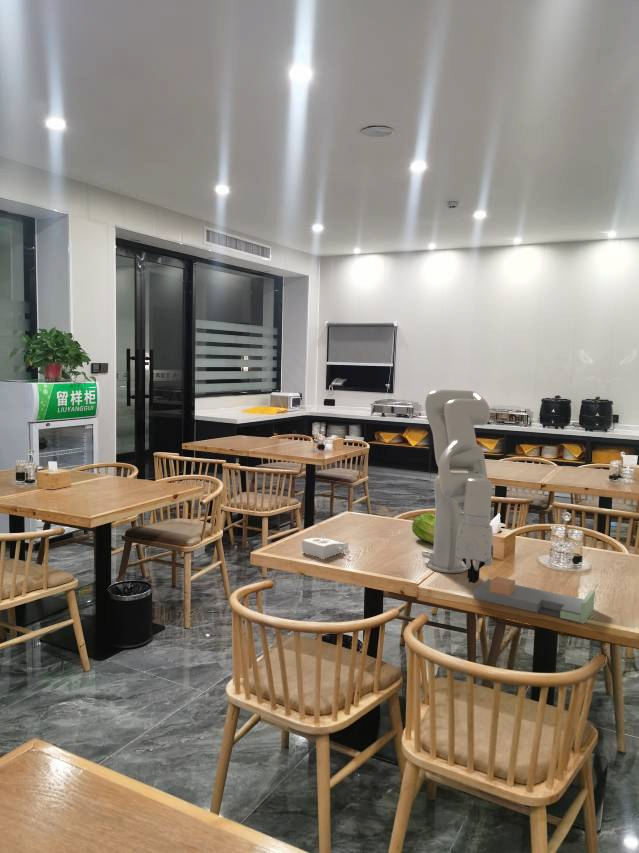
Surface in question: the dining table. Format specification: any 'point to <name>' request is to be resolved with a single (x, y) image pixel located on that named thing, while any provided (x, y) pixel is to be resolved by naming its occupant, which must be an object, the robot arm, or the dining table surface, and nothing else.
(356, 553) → the dining table surface
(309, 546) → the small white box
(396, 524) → the dining table surface
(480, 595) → the grey stepped platform
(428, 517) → the lettuce
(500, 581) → the block
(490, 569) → the dining table surface
